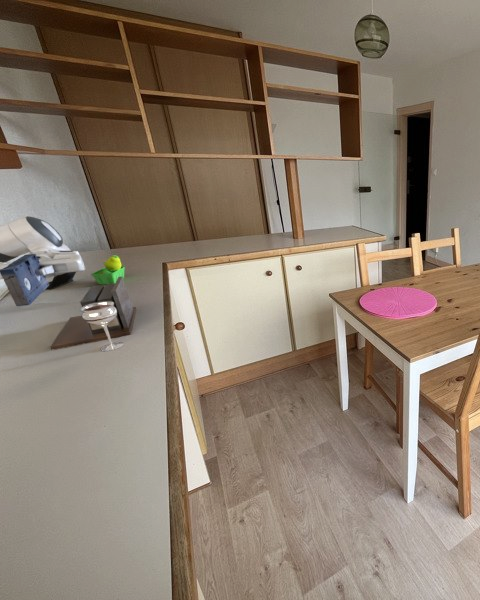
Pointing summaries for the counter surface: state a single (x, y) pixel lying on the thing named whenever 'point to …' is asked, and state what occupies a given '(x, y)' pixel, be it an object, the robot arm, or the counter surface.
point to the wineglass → (101, 319)
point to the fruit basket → (110, 271)
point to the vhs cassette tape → (24, 279)
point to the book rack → (85, 332)
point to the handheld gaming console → (61, 280)
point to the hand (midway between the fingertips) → (30, 274)
